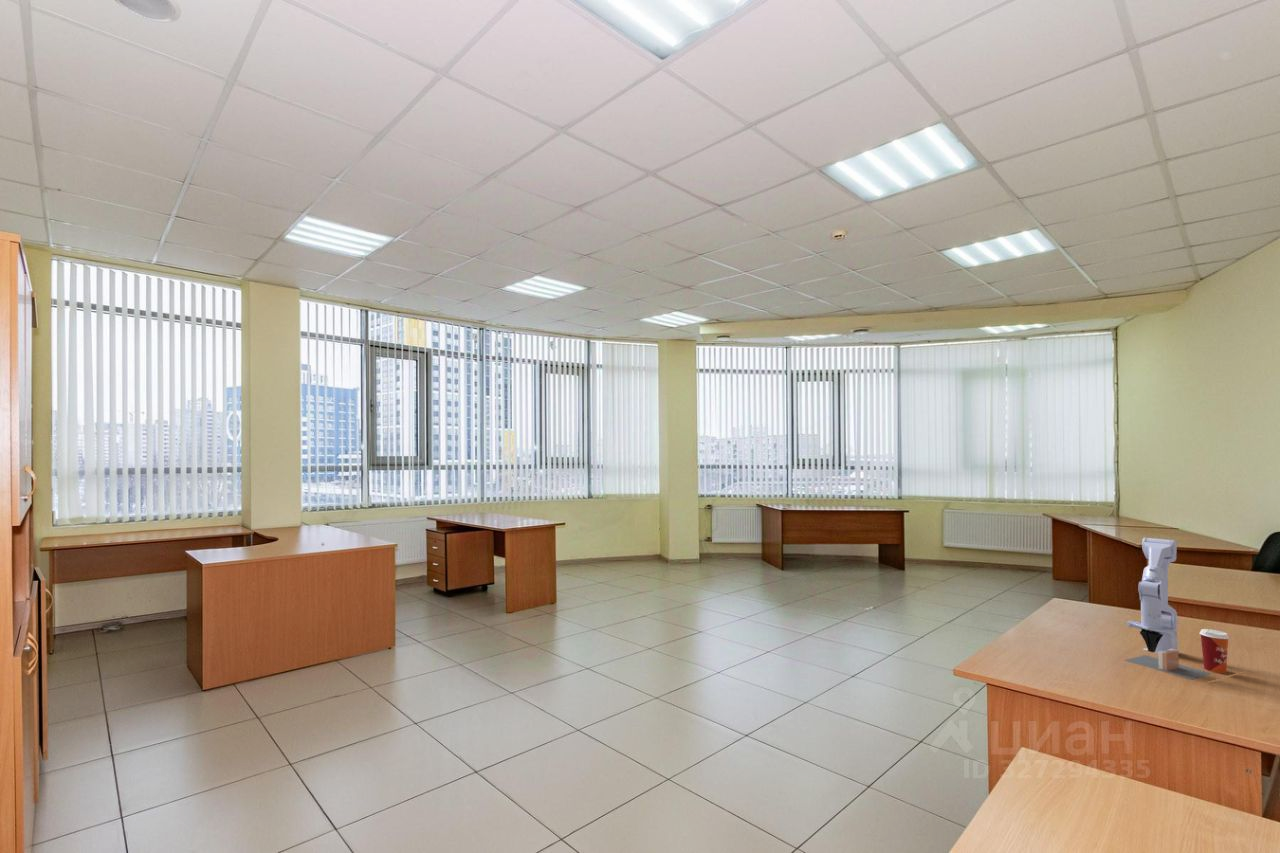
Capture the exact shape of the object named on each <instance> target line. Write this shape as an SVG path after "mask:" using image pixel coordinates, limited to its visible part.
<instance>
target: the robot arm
mask: <svg viewBox="0 0 1280 853" xmlns="http://www.w3.org/2000/svg"><path fill="white" fill-rule="evenodd" d="M1141 540H1142V541H1141V549H1142V552H1143V554H1144V557H1145V559H1148V564H1147V566H1145V567H1144V568H1143V573H1142V577H1141V581H1139V582H1138V586H1137V587H1138V590H1137V591H1138V594H1139V601H1140V622H1138V621H1133V620H1127V621H1126V626H1127V627H1129V628H1136V629H1139V630H1140V631H1139V634H1140V635H1141V637H1142V638H1143V640H1144V642H1145V645H1146V647H1145V648H1143V650H1144V651H1147V652H1151V653H1154V654H1158V652H1159V651H1163V650H1167V649H1173V650H1177V651H1179V650H1178V631H1177V630H1178V626H1179V625H1178V624H1179V619H1178V612H1177V610H1176V609H1174V608H1173V607H1172V606H1171V605H1169V568H1170V563H1173V562H1176V560H1177V552H1178V551H1177V546H1178V544H1177V541H1176V540H1174V539H1162V538H1151V537H1145V536H1144V537H1143V538H1142V539H1141ZM1179 654H1181V651H1179Z"/></svg>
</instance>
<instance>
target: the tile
mask: <svg viewBox="0 0 1280 853" xmlns="http://www.w3.org/2000/svg"><path fill="white" fill-rule="evenodd" d="M1179 652H1180V651H1179V650H1178V651H1177V650H1173V649H1167V650H1163V651H1159V652H1158V653H1157V654H1158V655H1157V657H1158V663H1159V669H1162V670H1166V671H1168V670H1172V669H1176V668H1179V663H1180V661H1179V659H1180V658H1179V655H1180V653H1179Z"/></svg>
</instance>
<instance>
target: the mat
mask: <svg viewBox="0 0 1280 853" xmlns="http://www.w3.org/2000/svg"><path fill="white" fill-rule="evenodd" d="M1124 662H1129V663H1133V664H1136V665H1139V666H1142V667H1146V668H1150V669H1153V670H1155V671H1160V672H1163V673H1166V674H1171V675H1174V676H1177V677H1180V678H1184V679H1188V680H1190V681H1191V680H1195V679H1200V678H1202V677H1206V676H1209V675H1213V672H1210V671H1209V672H1208V671H1205V670H1201V669H1197V668H1194V667H1190V666H1187V665H1182V664H1179V668H1176V669H1172V670H1168V671H1166V670H1162V669H1159V663H1158V658H1157V657H1154V656H1149V655H1145V654H1144V655H1140V656H1137V657H1131V658H1128V659H1124Z"/></svg>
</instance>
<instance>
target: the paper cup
mask: <svg viewBox="0 0 1280 853" xmlns="http://www.w3.org/2000/svg"><path fill="white" fill-rule="evenodd" d="M1199 635H1200V642H1201V651H1202V660H1203V669H1204V670H1206V671H1207V672H1208V671H1209V672H1211V673H1218V674H1226V673H1227V665H1228V646H1229V645H1228V644H1229V639H1230V637H1229V635H1228V633H1227V632H1225V631H1221V630H1218V629H1217V630H1215V629H1210V628H1209V629H1208V628H1202V629H1200V632H1199Z"/></svg>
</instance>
